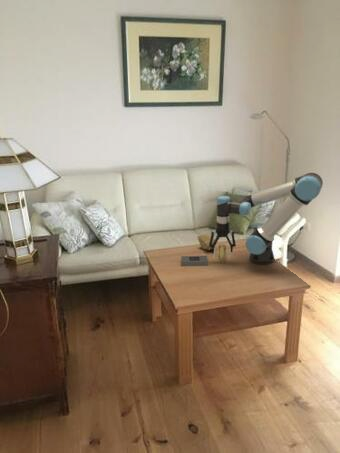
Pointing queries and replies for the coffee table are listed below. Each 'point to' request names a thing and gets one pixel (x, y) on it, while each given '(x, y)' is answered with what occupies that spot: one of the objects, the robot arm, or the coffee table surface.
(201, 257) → the metal plate with hole
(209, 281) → the coffee table surface
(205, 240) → the faceted tan rock
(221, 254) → the gold peg
